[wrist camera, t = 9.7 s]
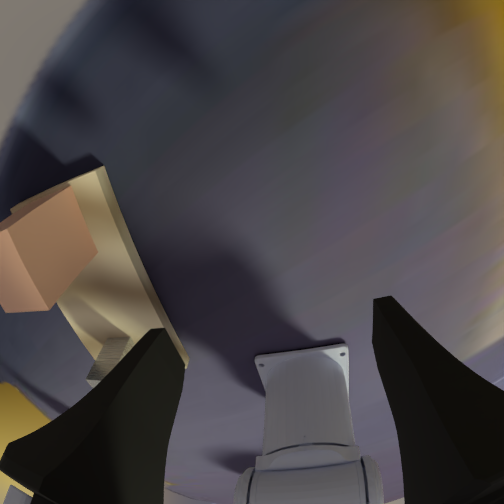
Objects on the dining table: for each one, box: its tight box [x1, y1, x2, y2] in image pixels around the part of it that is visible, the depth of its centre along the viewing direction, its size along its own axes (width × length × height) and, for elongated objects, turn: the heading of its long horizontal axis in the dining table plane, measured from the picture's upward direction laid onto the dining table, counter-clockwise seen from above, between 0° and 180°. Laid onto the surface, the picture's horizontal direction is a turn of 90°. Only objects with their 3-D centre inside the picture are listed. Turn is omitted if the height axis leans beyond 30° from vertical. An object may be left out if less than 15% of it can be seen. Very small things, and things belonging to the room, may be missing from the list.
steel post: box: [86, 337, 135, 388], centre depth 23 cm, size 3×3×5 cm
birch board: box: [10, 166, 190, 368], centre depth 22 cm, size 18×10×1 cm, turn 13°
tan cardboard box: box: [0, 186, 98, 313], centre depth 16 cm, size 5×5×7 cm
